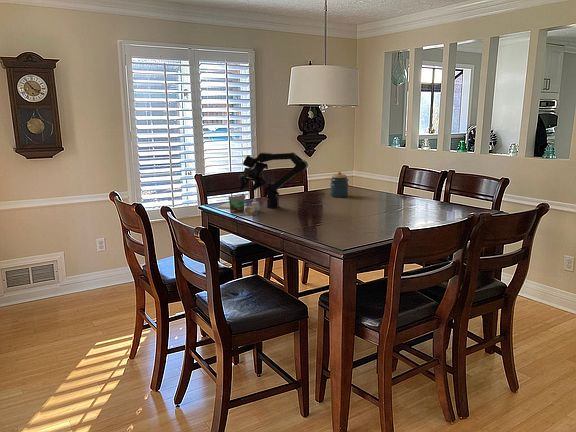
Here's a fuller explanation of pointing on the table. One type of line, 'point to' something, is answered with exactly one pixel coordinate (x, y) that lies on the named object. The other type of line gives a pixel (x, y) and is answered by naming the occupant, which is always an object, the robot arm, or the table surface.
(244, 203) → the cream tile
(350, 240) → the table surface
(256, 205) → the grey plastic cylinder
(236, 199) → the food container
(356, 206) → the table surface
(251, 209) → the birch block
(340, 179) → the canister
